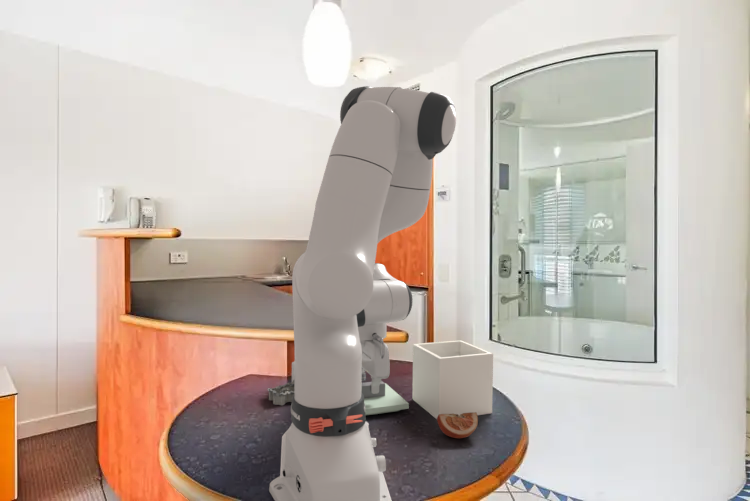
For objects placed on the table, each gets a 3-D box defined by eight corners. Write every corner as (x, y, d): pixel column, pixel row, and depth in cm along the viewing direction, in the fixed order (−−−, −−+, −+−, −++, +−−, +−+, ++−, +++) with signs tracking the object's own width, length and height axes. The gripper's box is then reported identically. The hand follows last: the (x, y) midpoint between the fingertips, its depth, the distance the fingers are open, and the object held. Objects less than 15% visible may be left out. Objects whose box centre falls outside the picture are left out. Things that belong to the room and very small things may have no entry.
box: (492, 413, 99) (493, 353, 99) (439, 421, 95) (439, 358, 94) (460, 392, 112) (461, 340, 112) (412, 399, 108) (413, 344, 107)
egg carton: (305, 391, 114) (305, 376, 113) (316, 400, 107) (316, 384, 107) (265, 397, 108) (266, 381, 108) (274, 408, 102) (274, 391, 102)
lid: (408, 412, 99) (408, 390, 99) (346, 421, 94) (347, 398, 94) (385, 391, 113) (385, 371, 113) (330, 397, 108) (330, 377, 108)
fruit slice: (470, 428, 91) (470, 405, 91) (484, 443, 84) (484, 418, 84) (433, 431, 89) (433, 408, 89) (444, 446, 83) (444, 421, 83)
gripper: (397, 337, 94) (396, 399, 95) (367, 321, 114) (366, 372, 114) (370, 339, 92) (369, 403, 93) (344, 322, 112) (344, 375, 112)
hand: (367, 386), depth 103 cm, fingers open, 8 cm apart
